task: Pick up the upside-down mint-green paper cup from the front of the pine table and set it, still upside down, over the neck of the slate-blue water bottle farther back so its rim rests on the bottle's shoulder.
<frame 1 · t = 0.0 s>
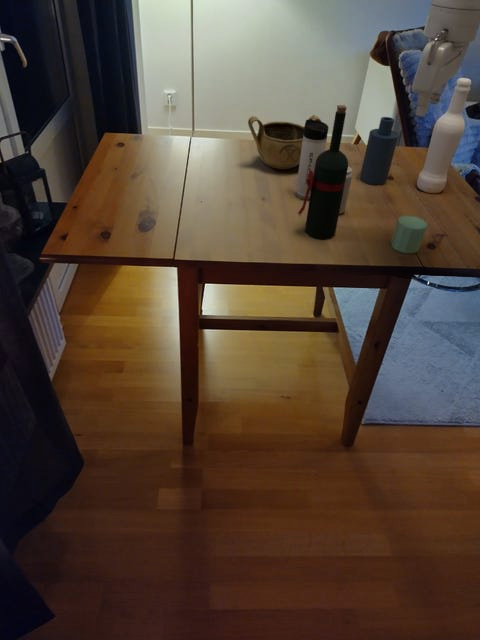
hand: (427, 109, 90), 32 cm above the table, tool pointing down, fingers open, 8 cm apart
travel mug: (306, 195, 132), on the table
paper cup: (405, 246, 113), on the table
ceramic bowl: (280, 165, 147), on the table
bottle: (429, 188, 139), on the table
water bottle: (372, 179, 141), on the table
wine bottle: (315, 232, 117), on the table
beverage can: (332, 211, 125), on the table
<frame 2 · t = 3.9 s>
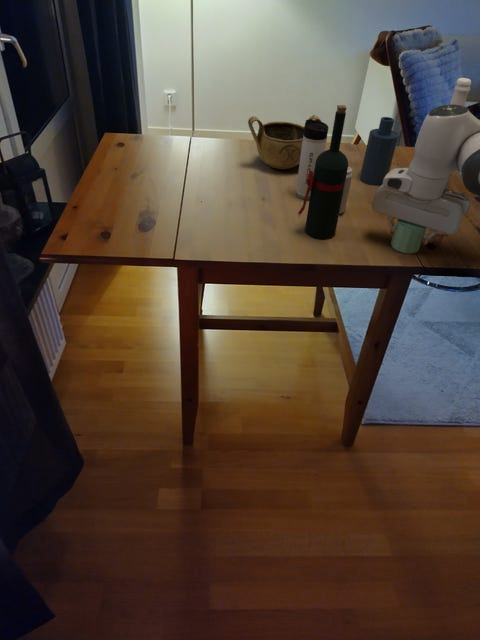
hand: (407, 237, 111), 2 cm above the table, tool pointing down, fingers closed on paper cup, 6 cm apart
paper cup: (405, 246, 113), on the table, touching gripper
everything else where it was.
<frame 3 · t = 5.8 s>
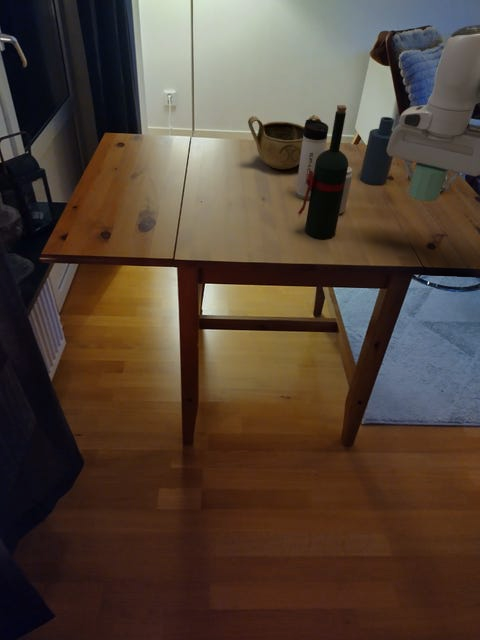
hand: (426, 184, 102), 16 cm above the table, tool pointing down, fingers closed on paper cup, 6 cm apart
paper cup: (423, 194, 104), point 14 cm above the table, touching gripper
everything else where it was.
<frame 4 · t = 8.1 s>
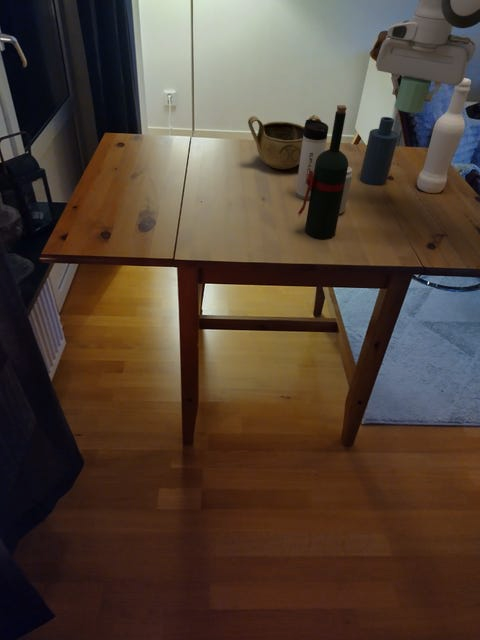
hand: (411, 97, 112), 28 cm above the table, tool pointing down, fingers closed on paper cup, 6 cm apart
paper cup: (408, 108, 113), point 25 cm above the table, touching gripper
everything else where it was.
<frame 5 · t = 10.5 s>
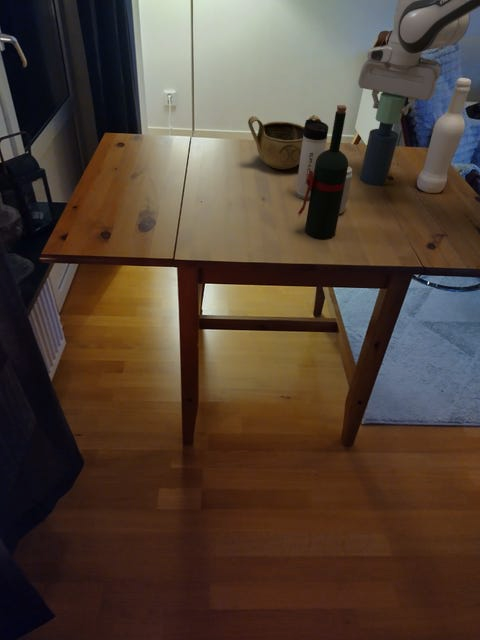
hand: (389, 111, 128), 20 cm above the table, tool pointing down, fingers closed on paper cup, 6 cm apart
paper cup: (387, 120, 130), point 18 cm above the table, touching gripper
everything else where it was.
when the fingers open (16 cm above the table, at t = 12.3 s): paper cup stays where it is, resting on water bottle.
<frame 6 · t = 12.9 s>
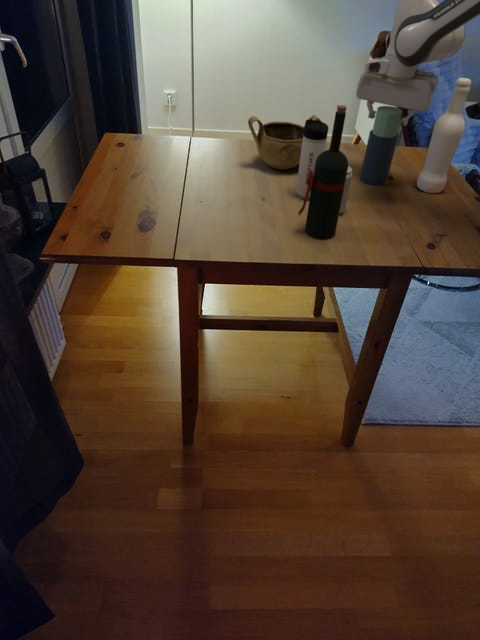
hand: (387, 121, 130), 17 cm above the table, tool pointing down, fingers open, 8 cm apart
paper cup: (384, 133, 132), point 14 cm above the table, touching water bottle
everything else where it was.
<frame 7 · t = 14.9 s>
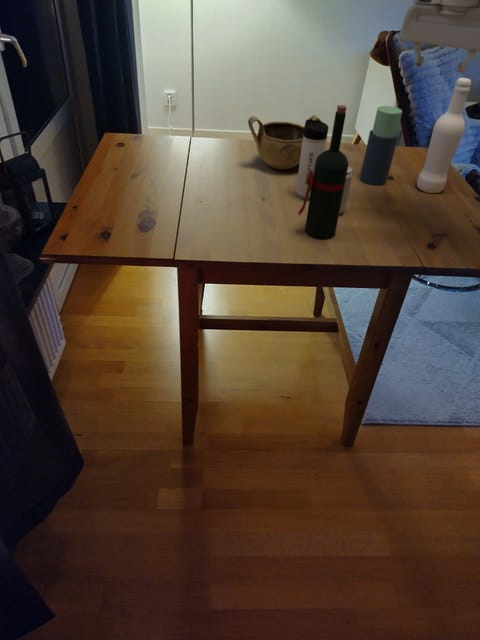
hand: (438, 68, 104), 35 cm above the table, tool pointing down, fingers open, 8 cm apart
nothing on the table moved.
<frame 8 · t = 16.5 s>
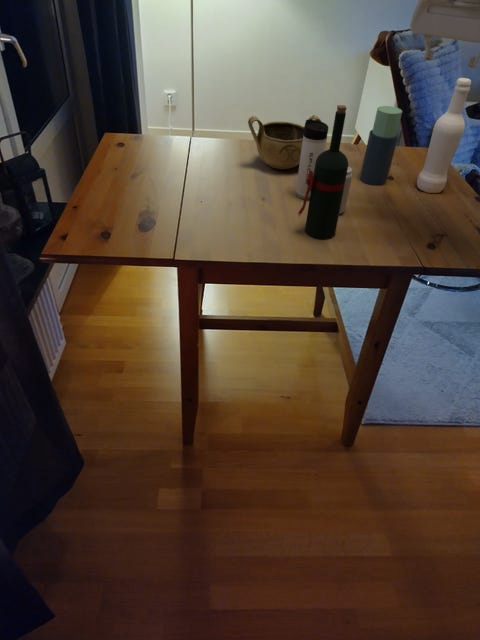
hand: (449, 63, 99), 37 cm above the table, tool pointing down, fingers open, 8 cm apart
nothing on the table moved.
at the end: paper cup 0.1 cm off-centre in the water bottle, point 14.0 cm above the water bottle's base; paper cup tilted 0° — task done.
